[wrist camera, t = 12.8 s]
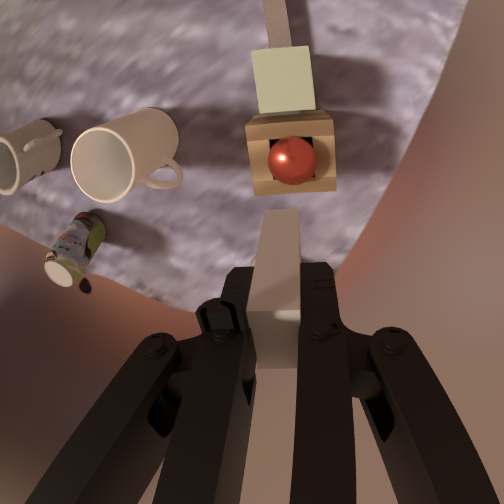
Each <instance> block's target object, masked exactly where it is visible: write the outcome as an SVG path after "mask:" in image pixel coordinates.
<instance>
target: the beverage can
mask: <svg viewBox="0 0 504 504" xmlns="http://www.w3.org/2000/svg"><path fill="white" fill-rule="evenodd" d="M105 235H106V230H105V226H104V224H103V223H102V221H101V220H100V219H99V218H98V217H97V216H95V215H94V214H92V213H89V212H81V213H79V214H78V215H77V216H76V217H75V218H74V219H73V221H72V222H71V223H70V224H69V226H68V227H67V228H66V230H65V231H64V232H63V233H62V235H61V236H60V237H59V239H58V240H57V241H56V243H55V244H54V246H53V247H52V248H51V250H50V251H49V253H48V254H47V256H46V263H45V271H46V273H47V275H48V276H49V277H50V279H51V280H52V281H54V282H55V283H57V284H58V285H61V286H64V287H69V286H71V285H72V284H73V283H75V282H77V281H78V280H79V279H80V277H81V275H82V274H83V272H84V270H85V269H86V267H87V265H88V264H89V262H90V260H91V259H92V257H93V255H94V254H95V252H96V251H97V249H98V247H99V246H100V244H101V243H102V241H103V240H104V238H105Z"/></svg>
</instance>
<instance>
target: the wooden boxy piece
mask: <svg viewBox="0 0 504 504" xmlns="http://www.w3.org/2000/svg"><path fill="white" fill-rule="evenodd" d="M245 132H246V139H247V146H248V153H249V160H250V167H251V174H252V181H253V188H254V195H255V196H261V195H275V194H290V193H307V192H327V191H336V158H335V138H334V125H333V119H332V118H331V117H330V116H329V115H328V114H327V113H326V112H325V111H324V110H304V111H300V113H293V114H280V115H278V112H277V113H266V114H256V115H255V116H254V117H253V118H252V119H251V120H250V121H249V122H248V123H247V124H246V125H245ZM289 136H295V137H303V138H304V140H306V141H307V142H309V143H310V144H311V146H312V147H313V149H314V151H315V153H316V157H317V168H316V171H315V173H314V175H313V176H312V177H311V178H310V179H309V180H308V181H306V182H305V183H302V184H299V185H287V184H284V183H281V182H279V181H278V180H277V179H275V178H274V176H273V175H272V174H271V172H270V170H269V167H268V156H269V152H270V150H271V148H272V146H273V145H274V144H275V143H276V142H277V141H278V140H280V139H281V138H284V137H289Z"/></svg>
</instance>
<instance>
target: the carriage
mask: <svg viewBox="0 0 504 504" xmlns="http://www.w3.org/2000/svg"><path fill="white" fill-rule="evenodd" d="M251 55H252V62H253V69H254V76H255V83H256V90H257V98H258V105H259V112H260V114H261V113H271V112H282V111H296V110H313V109H316V108H315V98H314V88H313V79H312V70H311V62H310V54H309V46H295V47H282V48H271V49H262V50H253V51H251Z"/></svg>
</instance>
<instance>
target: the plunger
mask: <svg viewBox="0 0 504 504" xmlns="http://www.w3.org/2000/svg"><path fill="white" fill-rule="evenodd" d="M268 167H269V170H270V172H271V174H272V175H273V176H274V178H275V179H277V180H278V181H279V182H281V183H284V184H287V185H299V184H302V183H305V182H306V181H308V180H309V179H310V178H311V177H312V176H313V175H314V173H315V171H316V168H317V157H316V153H315V151H314V149H313V147H312V146H311V144H310V143H309V142H307V141H306V140H304V138H303V137H295V136H289V137H284V138H281V139H280V140H278V141H277V142H276V143H275V144H274V145H273V146H272V148H271V150H270V152H269V156H268Z"/></svg>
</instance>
